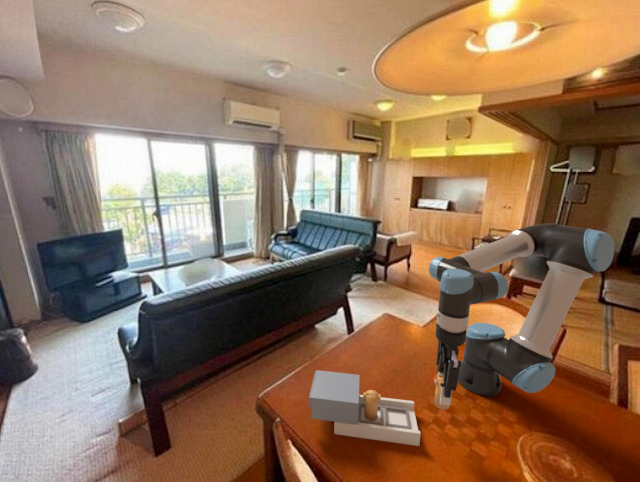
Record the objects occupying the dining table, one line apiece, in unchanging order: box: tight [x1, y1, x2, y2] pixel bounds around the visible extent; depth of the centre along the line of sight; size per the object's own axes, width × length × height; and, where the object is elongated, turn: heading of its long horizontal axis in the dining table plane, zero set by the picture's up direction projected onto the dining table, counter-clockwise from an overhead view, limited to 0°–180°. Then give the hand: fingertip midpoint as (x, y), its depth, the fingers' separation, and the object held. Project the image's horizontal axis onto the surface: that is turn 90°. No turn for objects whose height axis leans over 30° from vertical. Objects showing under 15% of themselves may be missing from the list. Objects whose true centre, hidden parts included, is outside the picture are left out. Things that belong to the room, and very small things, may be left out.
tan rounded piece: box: [362, 389, 382, 421], centre depth 88 cm, size 5×4×8 cm
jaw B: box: [433, 376, 450, 411], centre depth 81 cm, size 5×4×8 cm
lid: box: [308, 369, 360, 425], centre depth 90 cm, size 15×12×8 cm
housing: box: [333, 394, 422, 447], centre depth 89 cm, size 25×12×4 cm, turn 81°
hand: (442, 397), depth 82 cm, fingers closed on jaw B, 4 cm apart
